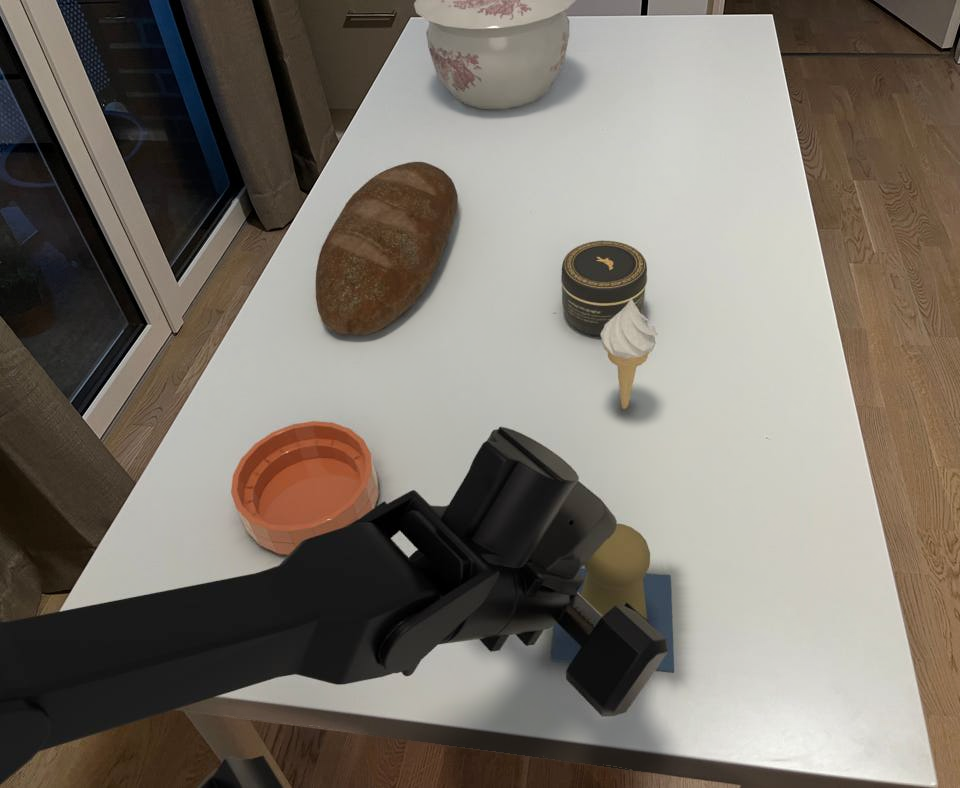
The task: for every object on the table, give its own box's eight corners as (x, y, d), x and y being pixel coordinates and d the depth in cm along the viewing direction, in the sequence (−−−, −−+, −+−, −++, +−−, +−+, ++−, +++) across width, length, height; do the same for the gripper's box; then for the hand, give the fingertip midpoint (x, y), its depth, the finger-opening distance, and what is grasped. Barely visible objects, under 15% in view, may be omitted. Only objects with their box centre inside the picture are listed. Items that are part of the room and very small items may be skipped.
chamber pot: (551, 136, 131) (549, 3, 116) (401, 120, 139) (382, -5, 125) (595, 66, 149) (598, -56, 134) (460, 56, 157) (449, -60, 143)
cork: (608, 663, 65) (614, 592, 58) (562, 611, 69) (561, 537, 61) (662, 622, 68) (674, 548, 60) (614, 574, 71) (619, 498, 64)
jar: (587, 280, 103) (588, 230, 97) (658, 304, 98) (663, 253, 93) (546, 323, 97) (544, 272, 92) (619, 351, 93) (622, 299, 87)
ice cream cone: (653, 425, 84) (665, 315, 73) (600, 428, 84) (605, 318, 74) (646, 388, 88) (656, 279, 77) (595, 391, 88) (599, 282, 78)
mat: (551, 661, 66) (551, 659, 66) (558, 568, 72) (558, 566, 72) (673, 672, 65) (674, 670, 64) (670, 576, 71) (670, 575, 71)
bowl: (327, 578, 74) (316, 551, 70) (216, 528, 79) (202, 500, 76) (404, 474, 82) (397, 445, 79) (299, 435, 87) (289, 406, 84)
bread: (476, 189, 121) (471, 137, 115) (412, 347, 96) (402, 292, 90) (378, 185, 124) (369, 135, 118) (292, 337, 99) (275, 283, 93)
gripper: (661, 586, 43) (754, 580, 55) (451, 407, 54) (568, 435, 66) (555, 741, 45) (667, 702, 58) (374, 539, 56) (501, 543, 69)
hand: (597, 585), depth 62 cm, fingers open, 9 cm apart
